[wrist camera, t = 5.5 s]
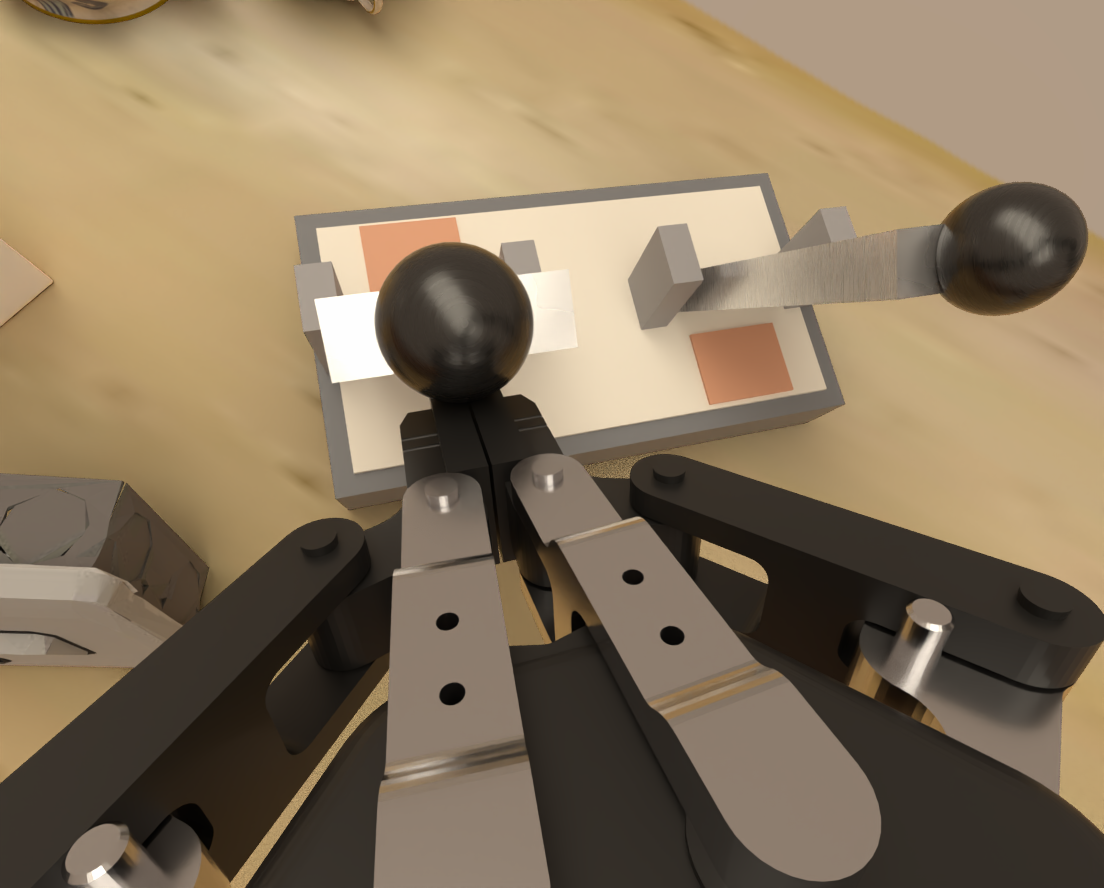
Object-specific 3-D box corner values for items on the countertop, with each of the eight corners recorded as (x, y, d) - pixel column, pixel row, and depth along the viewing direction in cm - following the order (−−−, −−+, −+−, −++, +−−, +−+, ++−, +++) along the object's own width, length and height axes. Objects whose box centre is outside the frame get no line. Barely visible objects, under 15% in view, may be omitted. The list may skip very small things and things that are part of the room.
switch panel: (739, 210, 32) (817, 105, 25) (807, 422, 30) (914, 370, 23) (310, 255, 28) (263, 142, 21) (348, 509, 25) (310, 477, 18)
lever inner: (778, 244, 26) (1165, 157, 13) (781, 313, 27) (1152, 299, 14) (673, 256, 25) (976, 176, 12) (678, 328, 26) (972, 329, 13)
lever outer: (486, 279, 24) (594, 215, 10) (497, 355, 24) (613, 389, 11) (354, 294, 23) (286, 246, 9) (370, 373, 23) (326, 435, 10)
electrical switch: (-61, 663, 22) (-394, 667, 13) (-12, 523, 23) (-277, 443, 15) (216, 669, 23) (81, 675, 14) (243, 535, 25) (136, 470, 16)
